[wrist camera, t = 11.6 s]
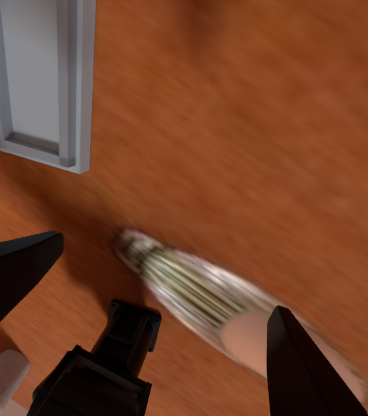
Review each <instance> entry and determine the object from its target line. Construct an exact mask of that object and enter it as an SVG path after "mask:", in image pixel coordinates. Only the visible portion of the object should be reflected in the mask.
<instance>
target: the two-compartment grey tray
mask: <svg viewBox="0 0 368 416" xmlns="http://www.w3.org/2000/svg"><path fill="white" fill-rule="evenodd" d="M95 14H96V0H0V151H3V152H7V153H10V154H13V155H17V156H20V157H24V158H27V159H30V160H34V161H37V162H40V163H44V164H47V165H51V166H54V167H57V168H61V169H64V170H67V171H71V172H74V173H78V174H81V173H84V172H86V171H89V169H90V143H91V117H92V91H93V66H94V40H95Z"/></svg>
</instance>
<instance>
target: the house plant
mask: <svg viewBox="0 0 368 416" xmlns="http://www.w3.org/2000/svg"><path fill="white" fill-rule="evenodd" d="M30 367H31V365H30V362H29V361H28V359H27V358H26V357H25V356H24V355H23V354H21V353H20V352H18V351H16V350H13V349H7V350H5V351H4V352H3V353H2V354H0V415H1V413H2V411H3V410H4V408H5V407H6V405H7V404H8V402H9V400H10V399H11V397H12V396H13V394H14V393H15V391H16V389H17V388H18V386H19V385H20V383H21V382H22V380H23V378H24V377H25V375H26V374H27V372H28V370H29V369H30Z"/></svg>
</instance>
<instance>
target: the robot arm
mask: <svg viewBox="0 0 368 416" xmlns="http://www.w3.org/2000/svg"><path fill="white" fill-rule="evenodd" d="M63 250H64V237H63V234H62V233H60V232H57V231H49V232H44V233H40V234H35V235H31V236H27V237H22V238H18V239H13V240H9V241H4V242H0V321H1V320H2V319H3V318H4V317H5V316H6V315H7V314H8V313H9V312H10V311H11V310H12V309H13V308H14V307H15V306H16V305H17V304H18V303H19V302H20V301H21V300H22V299H23V298H24V297H25V296H26V295H27V294H28V293H29V292H30V291H31V290H32V289H33V288H34V287H35V286H36V285H37V284H38V283H39V282H40V280H41V279H42V278H43V277H44V276H45V274H46V273H47V272H48V271H49V269H50V268H51V267H52V266H53V265H54V263H55V262H56V261H57V260H58V258H59V257H60V256H61V255H62V253H63ZM161 319H162V318H161V316H160V315H157V314H155V313H152V312H149V311H146V310H143V309H141V308H138V307H135V306H132V305H129V304H127V303H124V302H121V301H118V300H115V299H113V300H112V301H111V302H110V307H109V316H108V324H107V326H106V327H105V329H104V331H103V332H102V334H101V335H100V337H99V339H98V340H97V342H96V343H95V345H94V347H93V348H92V350H91V352H88V351H86V350H84V349H82V348H81V346H79V345H76V346H75V347H74V349H73V350H72V351H67V353H66V354H65V356H64V357H63V358H62V360H61V361H60V363H59V364H58V365H57V366H56V368H55V369H54V370H53V371H52V372H51V373H50V374H49V375H48V376H47V377H46V378H45V379H44V380H43V381H42V382H41V383H40V384H39V385H38V386H37V388H36V389H35V390H34V392H33V394H32V396H33V403H32V404H31V407H30V410H29V412H28V414H27V416H144V415H145V411H146V407H147V403H148V399H149V395H150V391H151V387H152V384H151V383H149V382H145V381H143V380H141V379H139V378H138V375H139V373H140V370H141V368H142V365H143V362H144V360H145V357H146V354H147V352H153V350H154V347H155V343H156V339H157V335H158V331H159V327H160V323H161ZM267 380H268V392H269V403H270V415H271V416H368V414H367V411H366V410H365V408H364V407H363V406H362V405H361V403H360V402H359V401H358V399H357V398H356V397H355V395H354V394H353V393H352V391H351V390H350V389H349V387H348V386H347V385H346V383H345V382H344V381H343V380H342V378H341V377H340V376H339V374H338V373H337V372H336V370H335V369H334V368H333V366H332V365H331V364H330V363H329V361H328V360H327V358H326V357H325V356H324V355H323V353H322V352H321V351H320V349H319V348H318V347H317V345H316V344H315V343H314V341H313V340H312V339H311V337H310V336H309V335H308V333H307V332H306V331H305V329H304V328H303V327H302V326H301V324H300V323H299V322H298V320H297V319H296V318H295V316H294V315H293V314H292V312H291V311H290V310H289V309H288V308H285V307H282V306H279V305H278V306H276V307H275V309H274V311H273V312H272V314H271V316H270V318H269V320H268V324H267Z"/></svg>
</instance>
